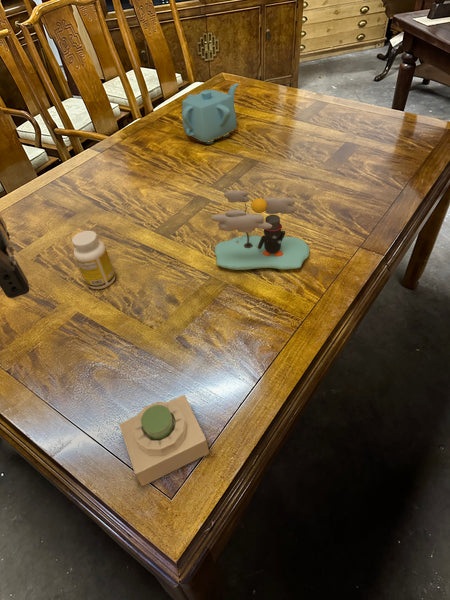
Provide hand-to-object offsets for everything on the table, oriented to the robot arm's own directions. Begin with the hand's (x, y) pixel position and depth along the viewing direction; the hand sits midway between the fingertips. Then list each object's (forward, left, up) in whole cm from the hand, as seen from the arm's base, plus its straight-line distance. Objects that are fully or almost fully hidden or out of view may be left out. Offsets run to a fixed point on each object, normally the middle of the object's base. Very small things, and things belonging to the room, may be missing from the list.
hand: (19, 291), depth 42 cm
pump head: (+8, -7, -23) cm, 26 cm away
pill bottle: (+8, +34, -29) cm, 46 cm away
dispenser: (+8, -7, -29) cm, 31 cm away
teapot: (+58, +86, -29) cm, 107 cm away
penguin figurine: (+40, +23, -29) cm, 54 cm away
